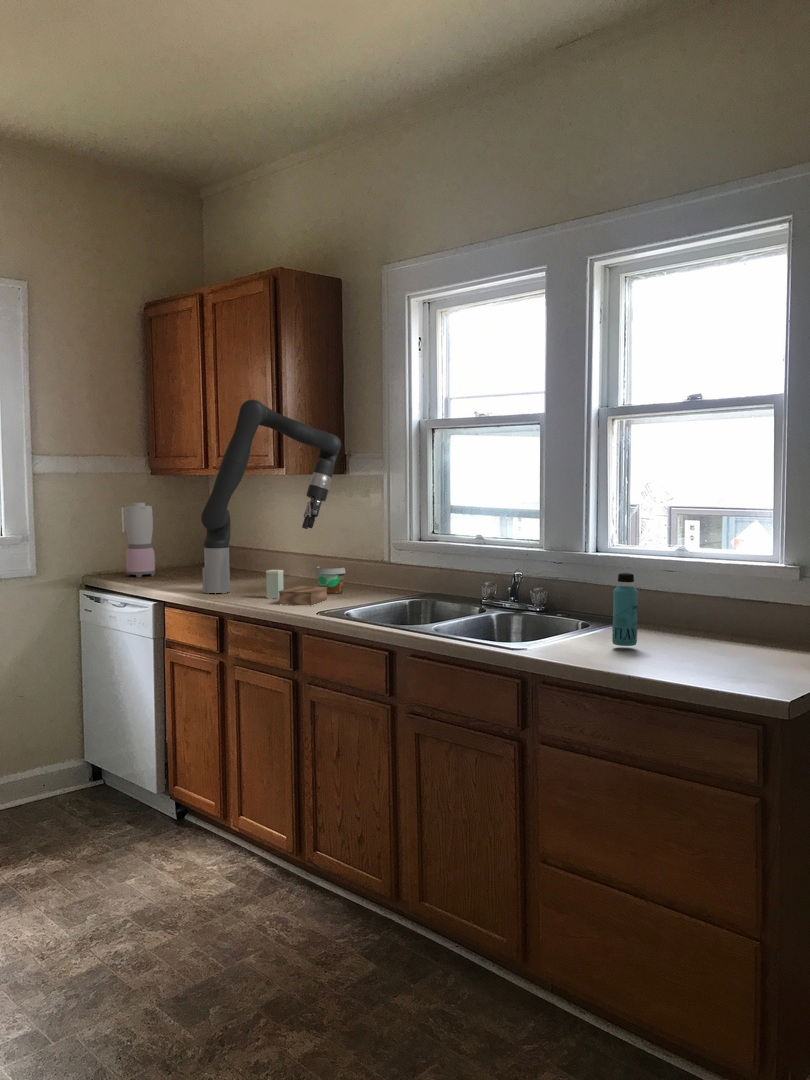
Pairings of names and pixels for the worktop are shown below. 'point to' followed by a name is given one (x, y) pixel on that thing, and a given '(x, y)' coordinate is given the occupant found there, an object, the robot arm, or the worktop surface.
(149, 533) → the blender
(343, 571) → the food container
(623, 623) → the beverage bottle
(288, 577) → the worktop surface
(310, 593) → the walnut box
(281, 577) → the tea tin
